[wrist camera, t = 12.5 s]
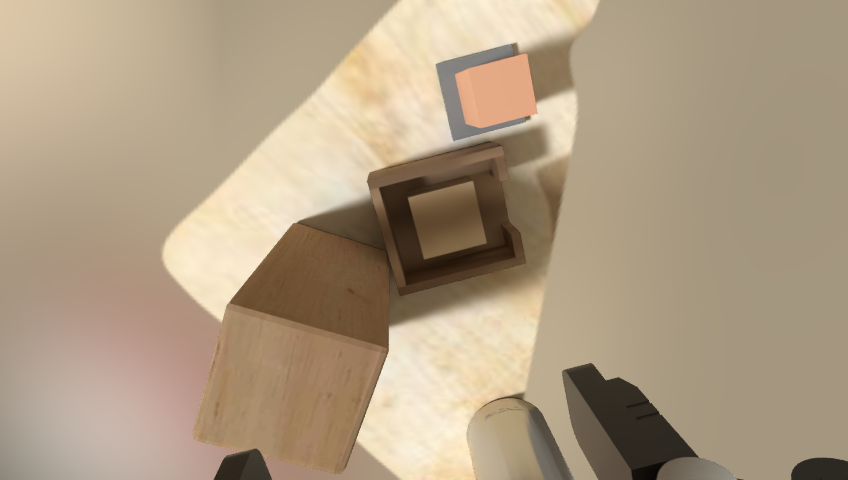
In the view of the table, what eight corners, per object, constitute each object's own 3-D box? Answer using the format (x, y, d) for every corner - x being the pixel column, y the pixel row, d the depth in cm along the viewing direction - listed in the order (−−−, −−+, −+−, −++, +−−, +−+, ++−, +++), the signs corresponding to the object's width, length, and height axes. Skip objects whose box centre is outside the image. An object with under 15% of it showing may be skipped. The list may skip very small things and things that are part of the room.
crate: (512, 247, 49) (526, 263, 44) (399, 277, 49) (400, 296, 44) (490, 141, 46) (502, 145, 41) (369, 173, 46) (367, 181, 41)
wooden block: (390, 251, 48) (391, 348, 29) (360, 337, 51) (342, 479, 32) (293, 220, 47) (225, 301, 28) (266, 310, 49) (188, 442, 30)
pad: (524, 121, 46) (526, 121, 45) (453, 140, 46) (453, 140, 45) (510, 45, 44) (511, 44, 43) (435, 64, 44) (436, 63, 43)
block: (502, 61, 44) (526, 52, 36) (512, 111, 45) (537, 113, 37) (454, 74, 44) (468, 68, 36) (465, 124, 45) (481, 128, 37)
